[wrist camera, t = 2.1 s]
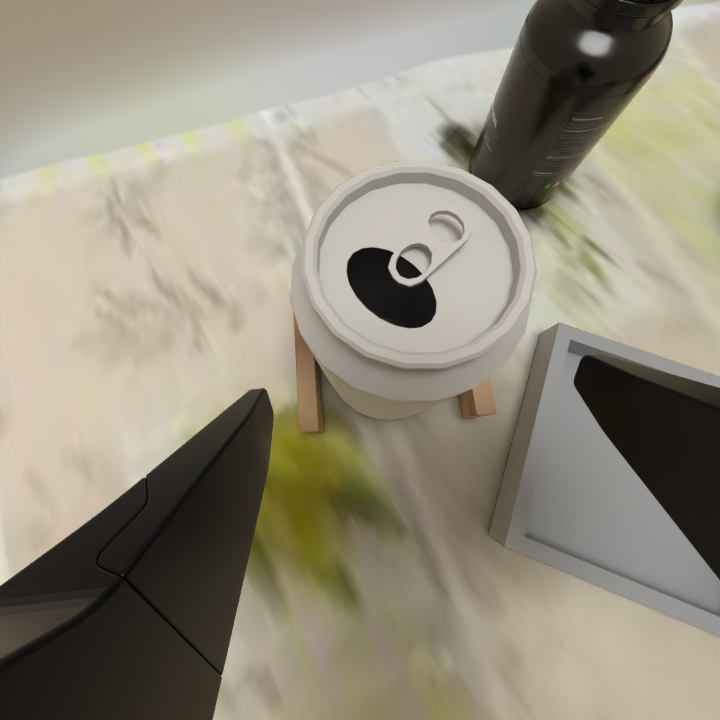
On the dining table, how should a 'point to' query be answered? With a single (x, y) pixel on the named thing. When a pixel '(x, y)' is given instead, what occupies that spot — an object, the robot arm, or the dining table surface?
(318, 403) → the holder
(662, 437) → the robot arm
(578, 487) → the tray
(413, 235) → the can
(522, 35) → the supplement bottle
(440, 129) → the dining table surface
